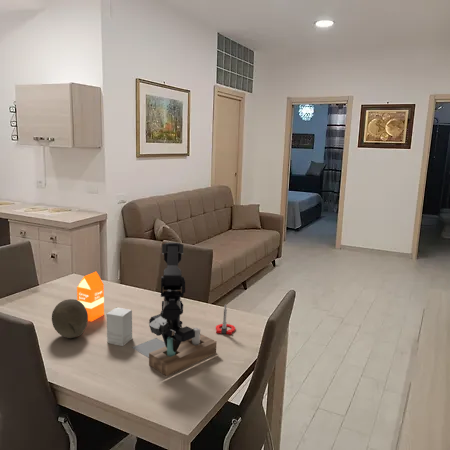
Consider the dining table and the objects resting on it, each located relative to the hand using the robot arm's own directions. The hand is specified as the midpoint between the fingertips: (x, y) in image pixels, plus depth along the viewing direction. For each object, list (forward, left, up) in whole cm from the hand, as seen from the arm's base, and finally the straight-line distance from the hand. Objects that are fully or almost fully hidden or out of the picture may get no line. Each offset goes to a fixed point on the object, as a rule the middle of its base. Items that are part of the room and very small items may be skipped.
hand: (171, 349), depth 151 cm
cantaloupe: (-45, -15, -6) cm, 48 cm away
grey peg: (0, +12, -6) cm, 14 cm away
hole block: (0, +6, -6) cm, 9 cm away
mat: (-14, +3, -6) cm, 16 cm away
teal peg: (0, 0, -6) cm, 6 cm away
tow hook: (-7, +36, -6) cm, 37 cm away
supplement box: (-28, -3, -6) cm, 29 cm away
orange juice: (-57, +1, -6) cm, 57 cm away
